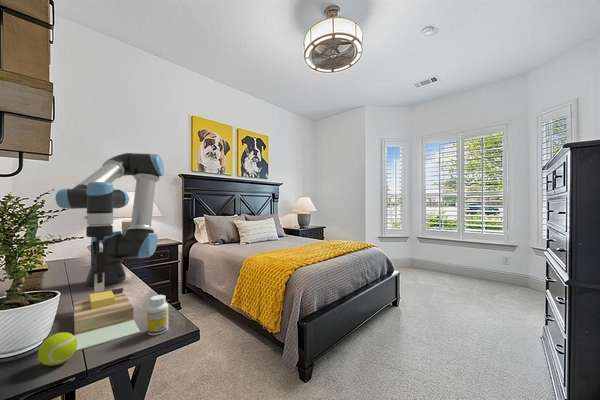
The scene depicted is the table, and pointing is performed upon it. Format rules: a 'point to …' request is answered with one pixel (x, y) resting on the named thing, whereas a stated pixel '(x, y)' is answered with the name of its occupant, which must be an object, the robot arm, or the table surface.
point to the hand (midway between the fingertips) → (99, 291)
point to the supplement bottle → (157, 315)
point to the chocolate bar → (115, 291)
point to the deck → (101, 314)
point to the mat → (106, 334)
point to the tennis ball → (57, 349)
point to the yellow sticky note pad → (102, 299)
